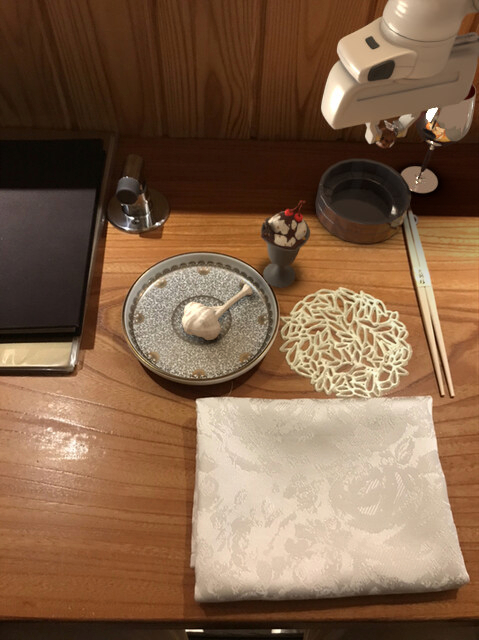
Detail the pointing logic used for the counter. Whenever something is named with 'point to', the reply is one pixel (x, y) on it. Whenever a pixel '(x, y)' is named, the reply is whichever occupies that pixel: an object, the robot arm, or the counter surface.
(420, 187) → the wineglass
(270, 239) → the sundae
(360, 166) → the bowl
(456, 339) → the counter surface
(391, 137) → the chocolate
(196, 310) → the garlic bulb
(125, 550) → the counter surface
